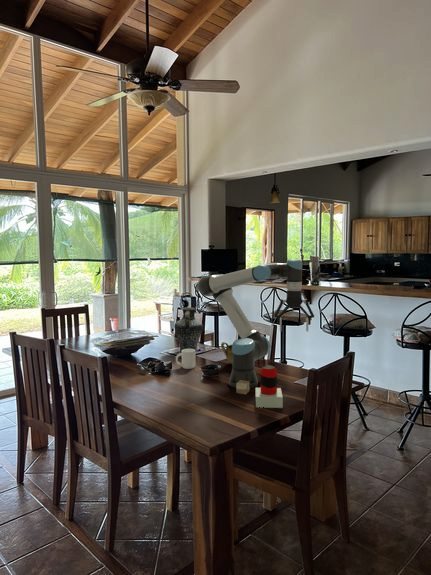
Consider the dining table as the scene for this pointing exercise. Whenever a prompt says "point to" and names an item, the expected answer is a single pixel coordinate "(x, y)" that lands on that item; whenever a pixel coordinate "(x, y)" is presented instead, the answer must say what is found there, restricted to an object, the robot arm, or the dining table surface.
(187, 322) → the jug
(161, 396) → the dining table surface
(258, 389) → the green block
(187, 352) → the mug
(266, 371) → the soda can
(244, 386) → the maple cube
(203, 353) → the dining table surface
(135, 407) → the dining table surface
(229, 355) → the olive yellow teapot
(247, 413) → the dining table surface
